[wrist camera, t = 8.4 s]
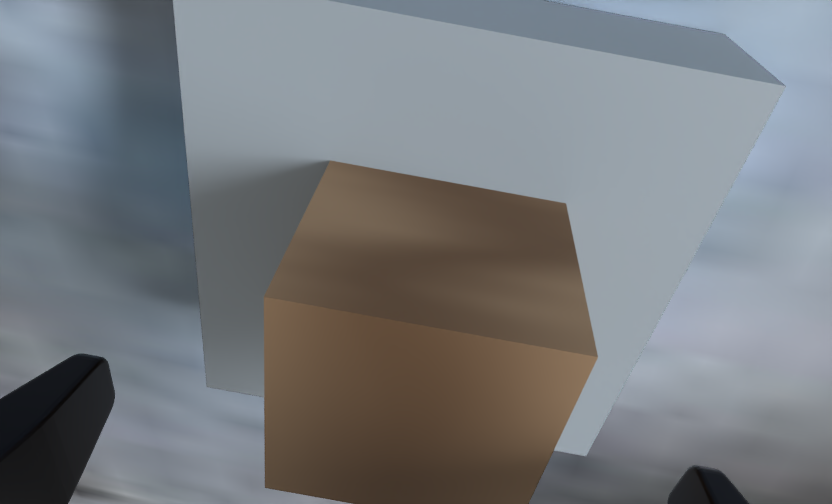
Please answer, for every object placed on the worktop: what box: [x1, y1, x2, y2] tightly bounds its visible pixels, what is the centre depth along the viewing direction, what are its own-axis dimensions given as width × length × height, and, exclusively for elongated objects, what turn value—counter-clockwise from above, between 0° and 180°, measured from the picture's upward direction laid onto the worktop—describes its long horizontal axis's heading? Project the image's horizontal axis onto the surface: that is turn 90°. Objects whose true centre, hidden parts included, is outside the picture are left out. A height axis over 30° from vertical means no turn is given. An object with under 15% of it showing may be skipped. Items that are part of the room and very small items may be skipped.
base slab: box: [173, 0, 786, 456], centre depth 14 cm, size 10×10×3 cm
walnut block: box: [264, 160, 598, 504], centre depth 11 cm, size 4×4×4 cm
